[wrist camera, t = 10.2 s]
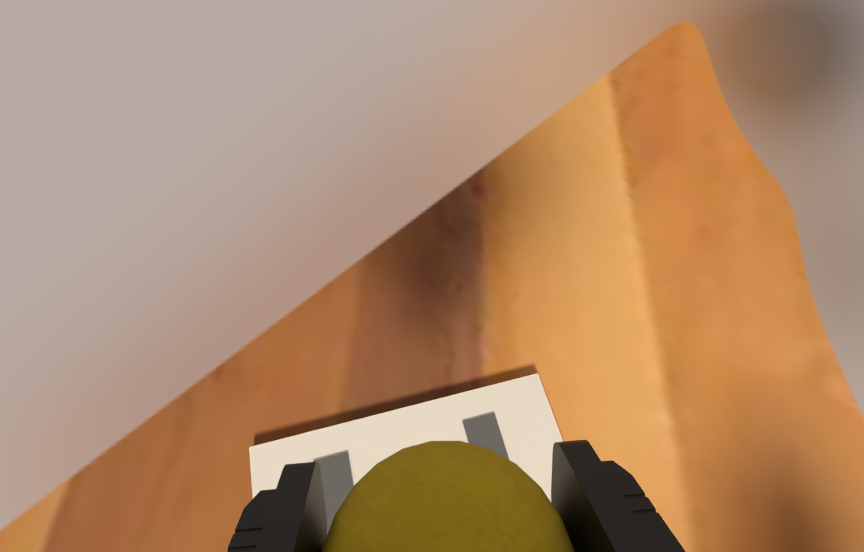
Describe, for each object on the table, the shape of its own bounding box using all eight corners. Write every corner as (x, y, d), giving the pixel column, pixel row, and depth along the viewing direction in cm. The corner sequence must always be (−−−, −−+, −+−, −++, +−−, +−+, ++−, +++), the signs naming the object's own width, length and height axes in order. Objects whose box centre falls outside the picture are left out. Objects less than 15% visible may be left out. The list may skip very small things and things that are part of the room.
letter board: (277, 779, 19) (272, 787, 18) (252, 448, 24) (248, 446, 24) (636, 650, 21) (643, 654, 20) (535, 376, 27) (538, 372, 26)
